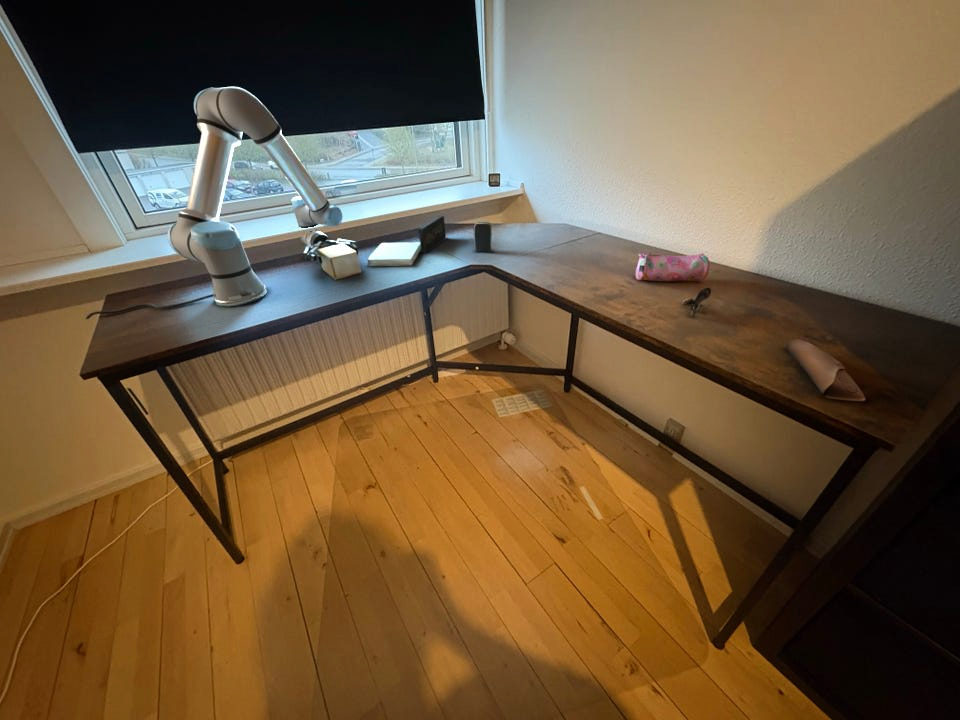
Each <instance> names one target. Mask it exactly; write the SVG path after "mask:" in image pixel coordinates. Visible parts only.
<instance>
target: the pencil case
mask: <svg viewBox="0 0 960 720" xmlns="http://www.w3.org/2000/svg"><path fill="white" fill-rule="evenodd" d="M637 256H638V262H637V265H636V268H635V279H636V280H638V281H654V282H678V281H687V282H691V281H694V282H699V283H701V282H703V281H704V280H705V279H706V278H707V276H708V274H709V271H710V260H709V257H708V256H707V255H705V254H704V253H697V254H690V255H669V254H668V255H666V254H658V253H652V252H648V253H646V252H645V253H638V254H637Z"/></svg>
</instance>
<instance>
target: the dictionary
mask: <svg viewBox="0 0 960 720" xmlns="http://www.w3.org/2000/svg"><path fill="white" fill-rule="evenodd" d="M317 250H318V254H319V255H320V256H321V259H322V264H320V265H321V268H322V271H324V272H325V273H326V274H327V275H329V276H330V277H331V278H332V279H334V280H336V281H337V280H341V279H343V278H347V277H351V276H355V275H357V274H362V270H361V264H360V260H359V254H358V255H357V251H355V250H353V249H352V248H350V247H348V246H347V245H345V244H338V245H334V246H330V247H325V248H321V249H317Z"/></svg>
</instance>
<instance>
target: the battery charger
mask: <svg viewBox="0 0 960 720" xmlns="http://www.w3.org/2000/svg"><path fill="white" fill-rule="evenodd" d="M473 235H474V236H473V237H474V251H475V252H477V253H479V252H480V253H490V252H492V236H493V229H492V224H491V222H488V221H479V222H476V223H475V224H474V227H473Z"/></svg>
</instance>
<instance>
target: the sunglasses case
mask: <svg viewBox="0 0 960 720" xmlns="http://www.w3.org/2000/svg"><path fill="white" fill-rule="evenodd" d="M785 348H786V350H787V351H788V352H789V354H791V356H792V357H793V358H794V359H795V360H796V361H797V362H798V363H799V365H800V366H801V368H802V369H803V371H805V373H807V375H808V377H809V378H810V379H811V380H812V382H813V383H814V384H815V386H816V388H818V390H819V391H820V393H822V394H823V396H824V398H825V399H830V400H834V401H835V400H836V401H842V402H843V401H844V402H865V401H867V399H866V397H865V394H864V393H863V391H862V390H861V389H860V387H859V386H858V384H857V383H856V382H855V381H854V379H853V378H852V377H851V376H850V374H849V373H848V372H847V371H846V367H844V365H843V364H842V363H841V362H840V361H839V360H838V359H836V358H835V357H833V356H832V355H831V354H829V353H828V352H827V351H825V350H823V349H822V348H819V347H817V346H816V345H814V344H812V343H810V342H808V341H805V340H803V339H800V338H795V339H792V340H791V341H789V342H788V343H787V344H786V345H785Z"/></svg>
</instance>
